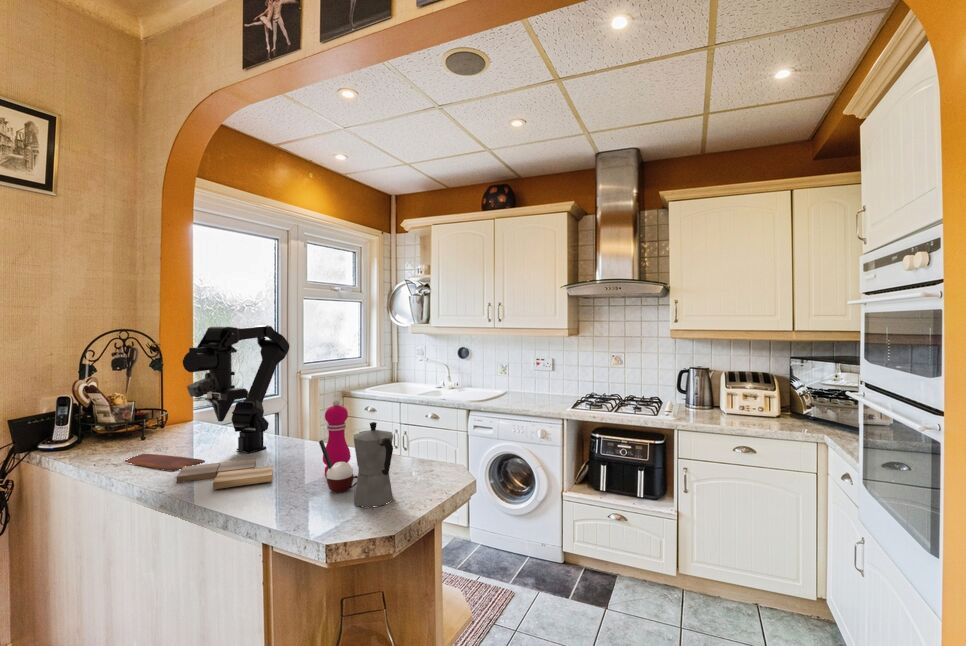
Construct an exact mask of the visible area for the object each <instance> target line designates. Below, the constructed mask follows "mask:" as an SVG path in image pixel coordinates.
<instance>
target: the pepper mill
mask: <svg viewBox="0 0 966 646" xmlns="http://www.w3.org/2000/svg"><path fill="white" fill-rule="evenodd" d="M348 417H349V412H348V409H347V408H346V407H345V406H343V405H341V402H340V400H338V399H334V400H333V402H332V406H330V407H328V408H327V409H326V410H325V413H324V420H325V421H326V422H327V423H326V430H327V431H328V438H327V443H326V446H325V448H326V450H327V453H328V456H329V458H330V461H331V464H332V466H333V465H334V464H335V463H337V462H346V463H349V461H350V460H351V451H350V448H349V444H347V440H346V437H345V429H347V423H346V420H347V419H348ZM322 462H323V464H325V467H324V475H325V476H326V477H327V474H326V473H327V471H328V465H327V462H326V460H325V457H324V454H323V453H322Z"/></svg>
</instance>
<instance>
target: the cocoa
mask: <svg viewBox="0 0 966 646" xmlns="http://www.w3.org/2000/svg"><path fill="white" fill-rule="evenodd" d="M318 443H319V446H320V449H321V452H322V455H323V454H324V457H325V460H326V462H327V465H328V471H327V473H326V474H327V476H326V482H327V483H326V484H327V486H328V489H329V490H330V492H333V493H335V492H336V493H337V494H340V493H339V492H341V493H344V491H345V492H346V491H349V489H352V488H354V487H356V483H357V481H356V482H355V483H354V479H357V477H358V475H354V471H353V470H354V469H353V467H352V465H351V464H350V463H349V462H348V463H346V462H337V463H335V464H334V465H333V466H332V464H331V461H330V458H329V456H328V453H327V450H326V446H325V442H324V440H322V439H320V440H319V442H318ZM327 465H326V466H327Z"/></svg>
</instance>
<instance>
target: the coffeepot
mask: <svg viewBox="0 0 966 646" xmlns="http://www.w3.org/2000/svg"><path fill="white" fill-rule="evenodd" d="M369 427H370V429H369V430H368V429H367V430H362V431H359V432H358V433H355V434H353V445H354V449H355V450H354V451H355V456H356V457H355V458H356V464H357V467H358V473H357V476H358V477H357V478H356V482H357V483H356V482H355V483H356V485H355V492H354V496H353V497H354V498H353V500H354V501H353V504H354V505H355V506H357V505H358V506H357V507H359V506H363V507H373V506H380V507H382V506H381V505H384V504H386V503H388V502H390V501H391V500H392V501H394V496H393V490H392V483H391V478H390V468H391V463H392V457H393V452H394V446H393V438H394V435H393V432H392V431H386V430H379V429H377V422H374V421H372V422H369ZM392 501H391V502H392ZM391 502H390V503H391ZM388 504H389V503H388ZM386 505H387V504H386ZM384 506H385V505H384ZM363 507H362V508H363Z"/></svg>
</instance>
